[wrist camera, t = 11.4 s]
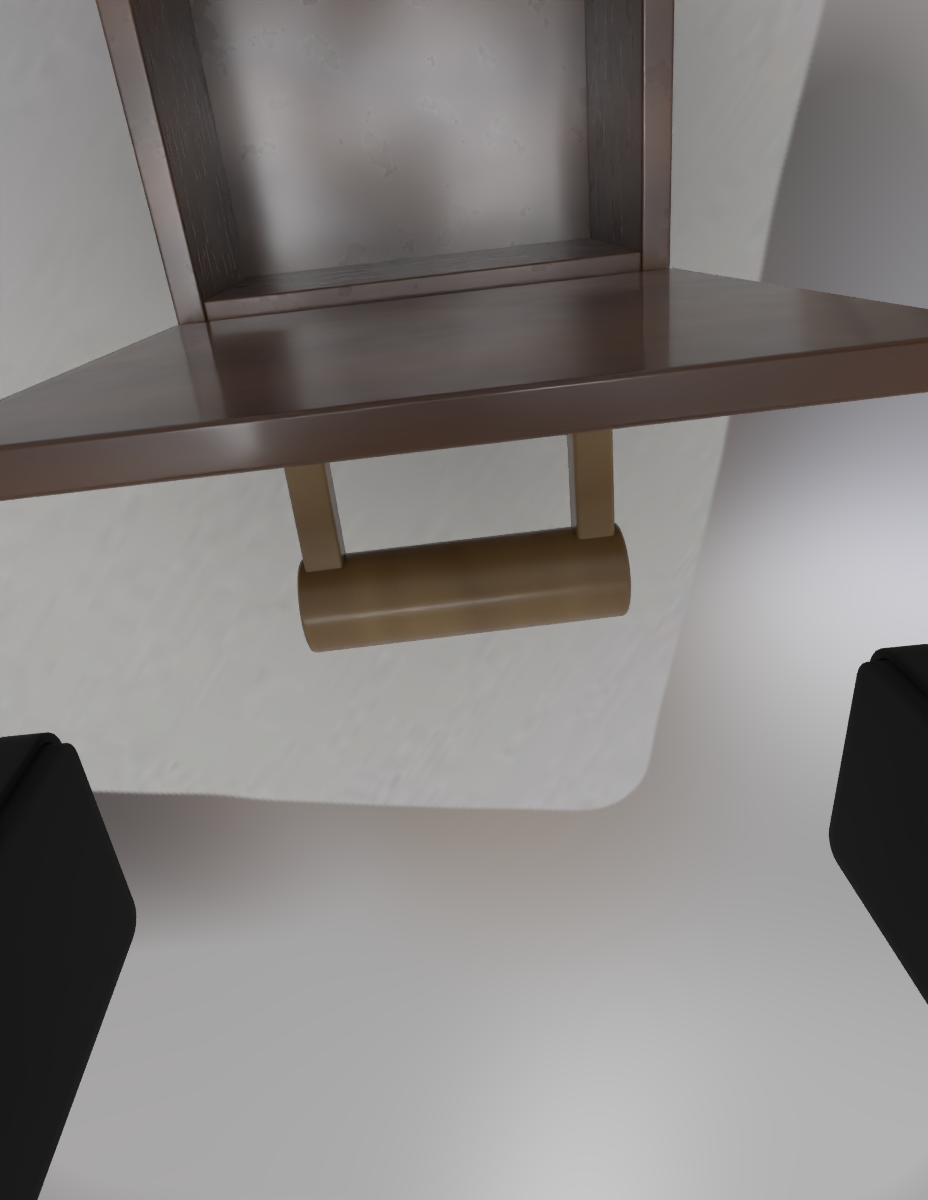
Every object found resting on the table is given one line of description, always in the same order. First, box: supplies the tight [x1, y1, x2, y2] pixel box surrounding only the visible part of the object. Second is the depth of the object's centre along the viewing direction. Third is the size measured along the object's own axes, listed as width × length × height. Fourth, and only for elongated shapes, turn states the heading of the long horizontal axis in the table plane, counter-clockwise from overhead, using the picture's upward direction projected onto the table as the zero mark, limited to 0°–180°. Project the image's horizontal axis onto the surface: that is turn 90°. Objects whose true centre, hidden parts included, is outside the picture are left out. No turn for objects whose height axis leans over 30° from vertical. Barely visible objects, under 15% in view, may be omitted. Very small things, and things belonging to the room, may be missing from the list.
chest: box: [96, 0, 674, 325], centre depth 28 cm, size 16×17×10 cm
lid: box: [0, 268, 928, 652], centre depth 20 cm, size 17×17×5 cm
